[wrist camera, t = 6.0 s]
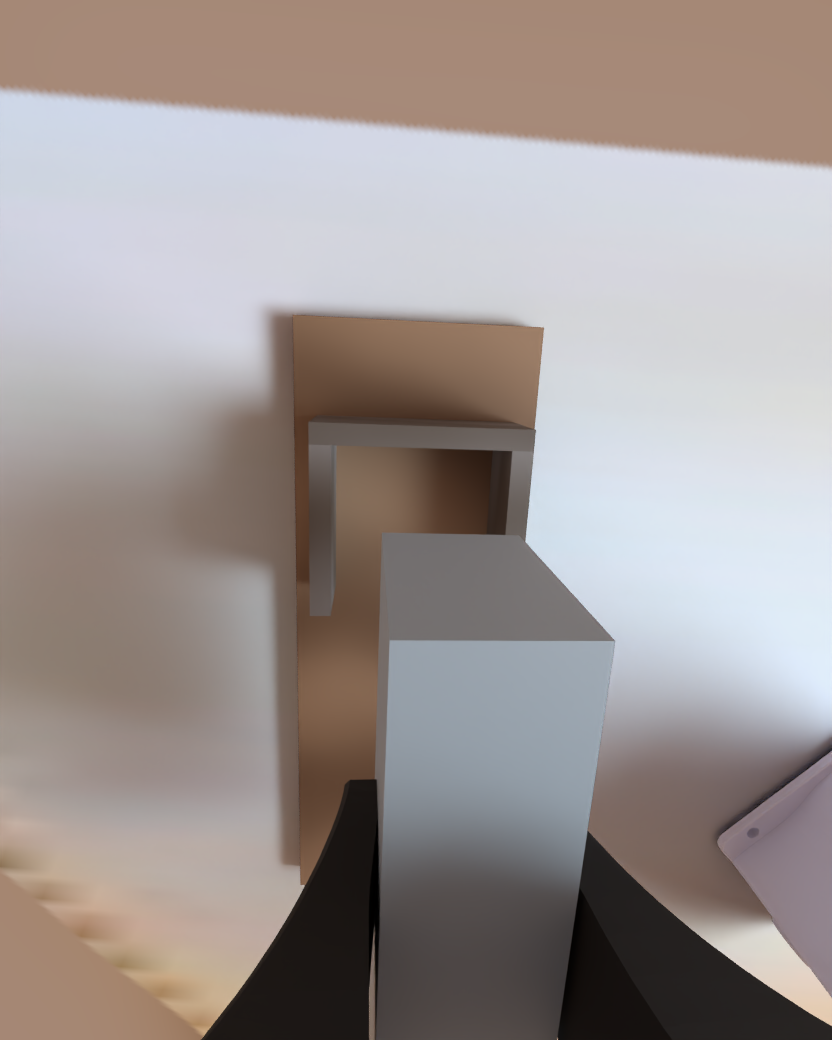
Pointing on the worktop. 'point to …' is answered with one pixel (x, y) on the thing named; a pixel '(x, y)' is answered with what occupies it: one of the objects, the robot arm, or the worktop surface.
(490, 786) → the rail
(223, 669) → the worktop surface
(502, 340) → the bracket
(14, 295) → the worktop surface
